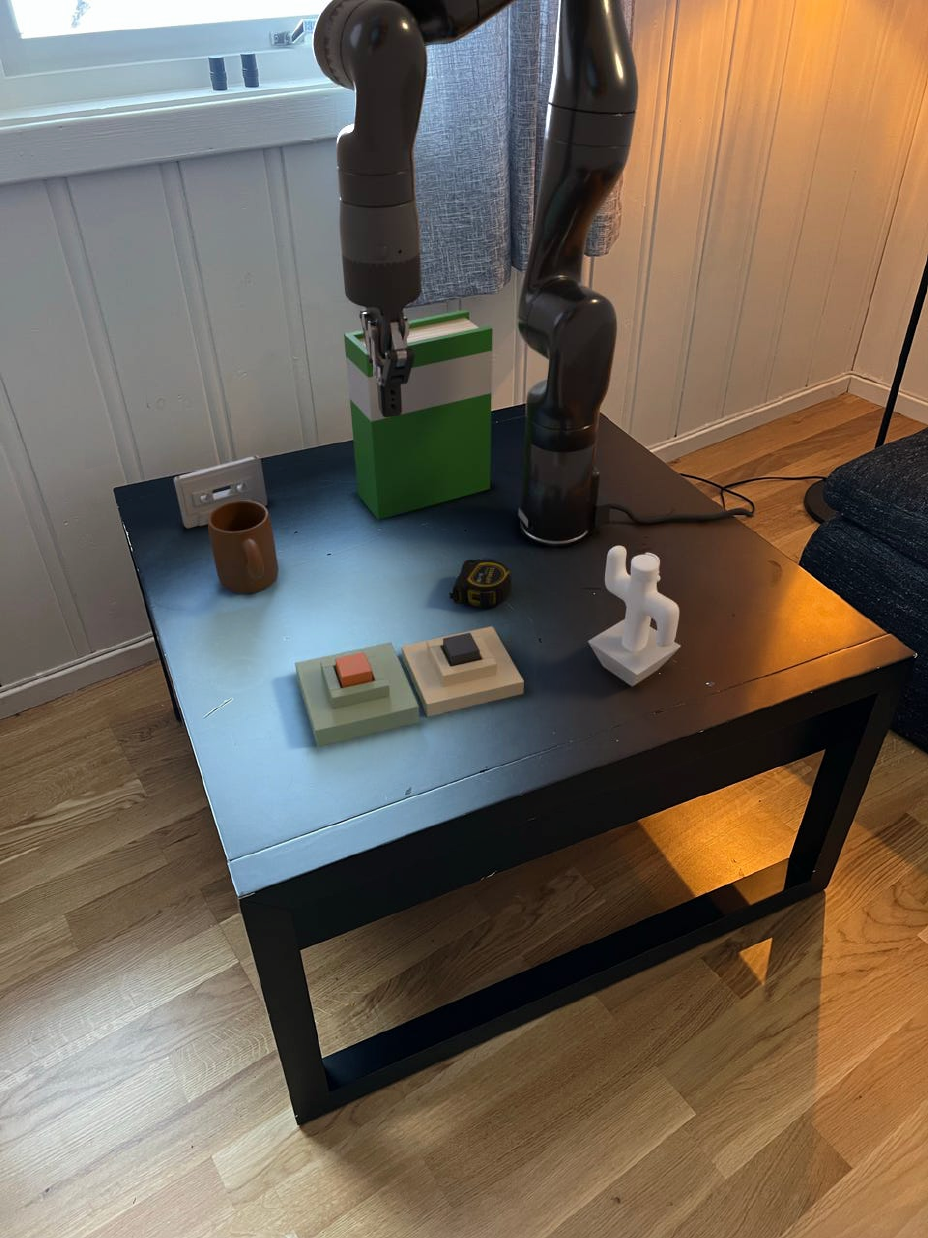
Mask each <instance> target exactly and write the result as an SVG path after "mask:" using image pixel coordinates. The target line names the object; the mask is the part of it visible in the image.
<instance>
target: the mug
mask: <svg viewBox="0 0 928 1238" xmlns="http://www.w3.org/2000/svg"><path fill="white" fill-rule="evenodd" d="M207 522H208V524H207V529H208V538H209V542H210V547H211V552H212V556H213V560H214V564H215V569H216V573H217V578H218V580H219V583H220V585H221V586H222V587H223V588H224V589H225V590H227V591H228V592H231V593H234V594H238V595H239V594H240V595H249V594H255V593H259V592H261V591H264V590H266V589H268V588H270V587H271V586H272V585H273V584H274V583H275V582H276V580H277V579H278V576H279V563H278V557H277V549H276V544H275V543H276V542H275V537H274V531H273V530H274V529H273V525H272V520H271V517H270V512H269V510H268V509H267V507H266V506H263V505H262V504H260V503H257V502H254V501H247V500H241V501H233V502H228V503H225V504H223V505H220V506H218V507H217V508H215V509H214V510H213V511H212V512H211V513H210V514H209V516H208V520H207Z"/></svg>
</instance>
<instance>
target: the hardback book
mask: <svg viewBox="0 0 928 1238" xmlns="http://www.w3.org/2000/svg"><path fill="white" fill-rule="evenodd" d="M408 322H409V335H408V337H407V348H409V347H412V348H413V350H414V352H415V356H414V361H413V365H412V368H411V372H410V376H409V379H408V383H407V384H401V400H402V413H401V414H400V415H398V416H392V417H383V415H382V414H381V412H380V410H379V406H378V391H377V379H375V376H374V375H373V371H374V370H373V367H371V366H370V363H369V360H368V359H369V357H368V352H367V347H366V343H365V338H364V333H363V329H362V330H361V329H360V330H357V331H351V332H346V333H343V338H344V351H345V359H346V360H345V363H346V373H347V382H348V383H347V384H348V396H349V397H348V398H349V407H350V418H351V430H352V441H353V452H354V462H355V464H354V465H355V476H356V485H357V495H358V497H359V498H360V499H361V500H362V502H363V503H364V504H365V505H366V506H367V508H368V509H369V510H370V511H371V512H372V514H373V515H374V516H375V517H376V519H377V520H384V519H386V518H387V519H388V518H390V517H394V516H397V515H401V514H405V513H408V512H412V511H415V510H419V509H423V508H427V507H430V506H433V505H434V506H435V505H437V504H440V503H444V502H448V501H452V500H454V499H455V500H456V499H459V498H462V497H465V496H470V495H473V494H476V493H480V492H484V491H487V490H491V460H492V459H491V455H492V454H491V453H492V452H491V451H492V450H491V449H492V396H493V395H492V392H493V390H492V389H493V387H492V386H493V384H492V383H493V327H491V326H490V325H486V326H482V327H479V326H477V325H476V324H475V323H474V322H472V321H470V311H469V310H468V309H461V310H455V311H451V312H446V313H442V314H437V315H431V316H426V317H421V318H416V319H412V320H408Z"/></svg>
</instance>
